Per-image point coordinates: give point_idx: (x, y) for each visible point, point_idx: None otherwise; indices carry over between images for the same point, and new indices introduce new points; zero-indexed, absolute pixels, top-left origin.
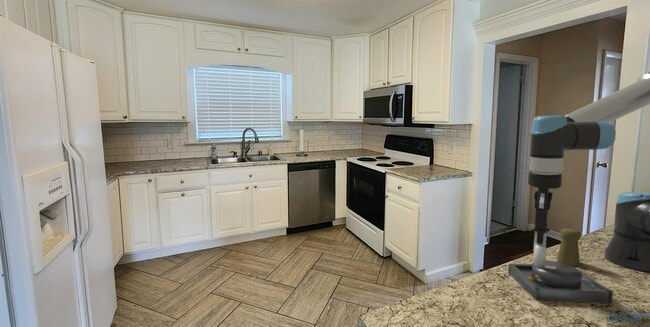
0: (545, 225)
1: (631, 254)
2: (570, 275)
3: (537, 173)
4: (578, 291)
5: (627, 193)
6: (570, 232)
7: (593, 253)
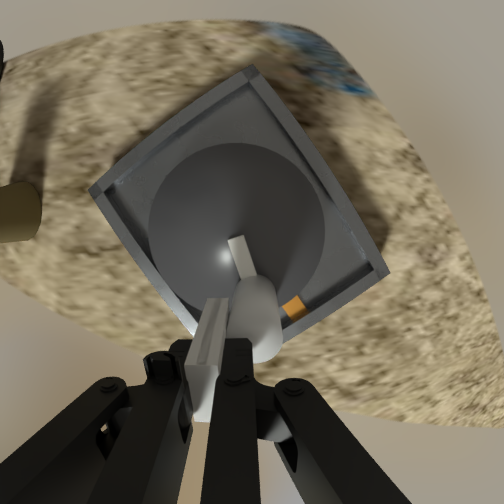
0: (344, 429)
1: None
2: (273, 180)
3: None
4: (320, 155)
5: None
6: None
7: None
